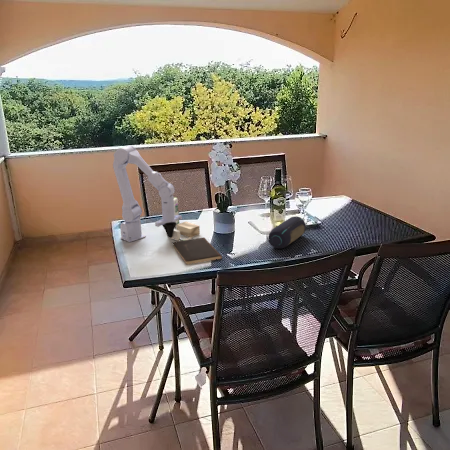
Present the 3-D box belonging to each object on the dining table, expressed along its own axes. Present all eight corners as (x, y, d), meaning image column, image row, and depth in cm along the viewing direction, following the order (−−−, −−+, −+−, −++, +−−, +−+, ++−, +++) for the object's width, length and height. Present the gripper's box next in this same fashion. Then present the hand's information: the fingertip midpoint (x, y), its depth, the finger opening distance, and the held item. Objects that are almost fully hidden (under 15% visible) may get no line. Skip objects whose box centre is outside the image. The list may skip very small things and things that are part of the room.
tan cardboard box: (177, 244, 200) (177, 235, 199) (162, 238, 208) (161, 229, 206) (201, 235, 211) (201, 226, 209) (186, 229, 218) (185, 221, 217)
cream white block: (181, 242, 202) (180, 233, 200) (167, 236, 209) (166, 228, 207) (187, 239, 204) (186, 231, 203) (172, 234, 211) (172, 226, 210)
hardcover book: (186, 266, 178) (185, 261, 178) (172, 246, 199) (172, 242, 198) (222, 260, 184) (222, 255, 183) (205, 241, 204) (204, 237, 203)
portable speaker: (285, 253, 188) (286, 231, 185) (265, 248, 194) (265, 227, 190) (308, 235, 208) (309, 216, 205) (289, 231, 213) (290, 212, 210)
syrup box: (176, 227, 222) (174, 200, 218) (165, 226, 224) (163, 199, 219) (179, 223, 228) (178, 197, 223) (168, 223, 229) (167, 196, 224)
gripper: (161, 215, 192) (163, 243, 197) (185, 208, 202) (186, 234, 207) (151, 212, 197) (153, 239, 202) (175, 205, 207) (177, 231, 211)
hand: (169, 237), depth 205 cm, fingers closed
